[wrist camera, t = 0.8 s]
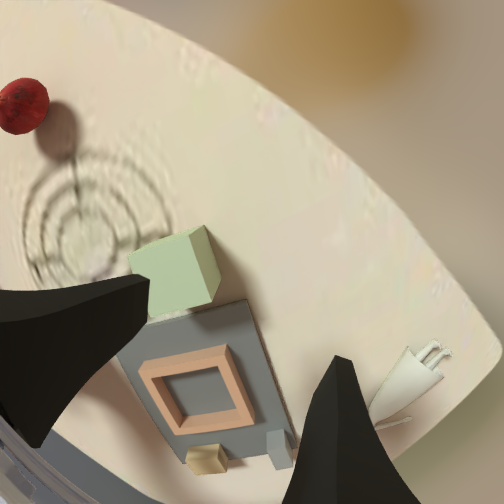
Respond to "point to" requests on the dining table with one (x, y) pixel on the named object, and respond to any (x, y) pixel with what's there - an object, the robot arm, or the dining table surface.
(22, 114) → the onion
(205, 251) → the sage green cube
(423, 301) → the dining table surface
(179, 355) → the housing
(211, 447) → the tan eraser block
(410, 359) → the woman figurine
